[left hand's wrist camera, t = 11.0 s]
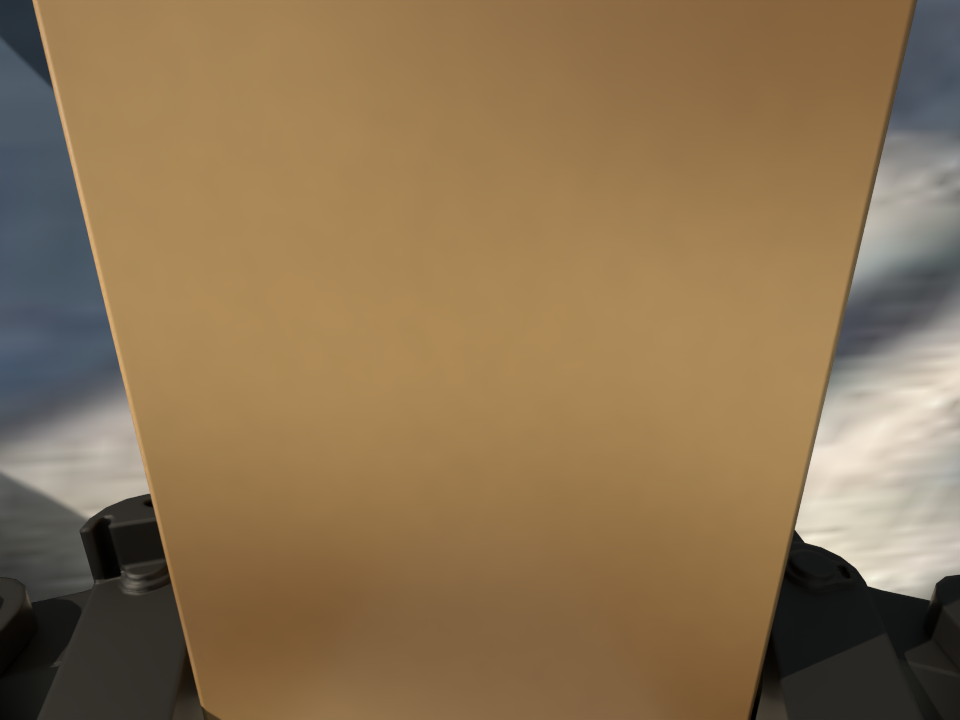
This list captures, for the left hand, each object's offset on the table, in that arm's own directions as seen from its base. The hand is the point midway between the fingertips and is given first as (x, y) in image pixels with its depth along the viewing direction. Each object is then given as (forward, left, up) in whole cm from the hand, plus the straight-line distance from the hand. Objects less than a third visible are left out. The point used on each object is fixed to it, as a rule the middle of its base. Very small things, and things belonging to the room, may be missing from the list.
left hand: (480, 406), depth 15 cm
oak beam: (0, +13, 0) cm, 13 cm away
